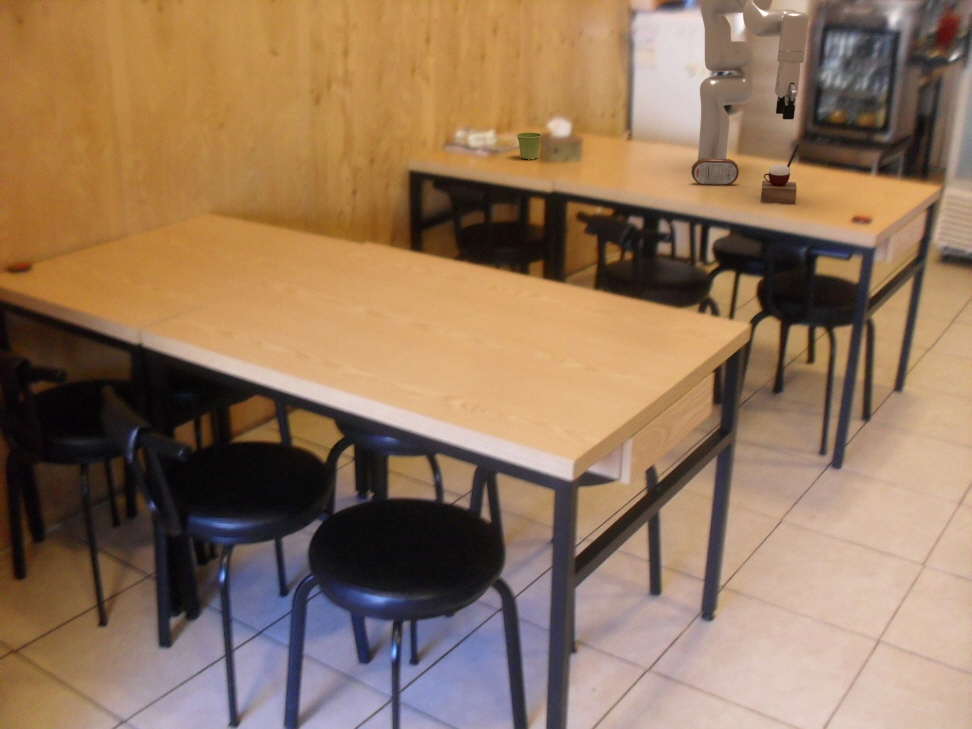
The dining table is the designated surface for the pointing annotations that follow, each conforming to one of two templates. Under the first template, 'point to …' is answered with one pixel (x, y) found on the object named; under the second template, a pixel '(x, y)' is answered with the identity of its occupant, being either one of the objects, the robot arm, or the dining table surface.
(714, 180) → the tin
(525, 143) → the plant pot
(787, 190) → the walnut block
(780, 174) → the cocoa
